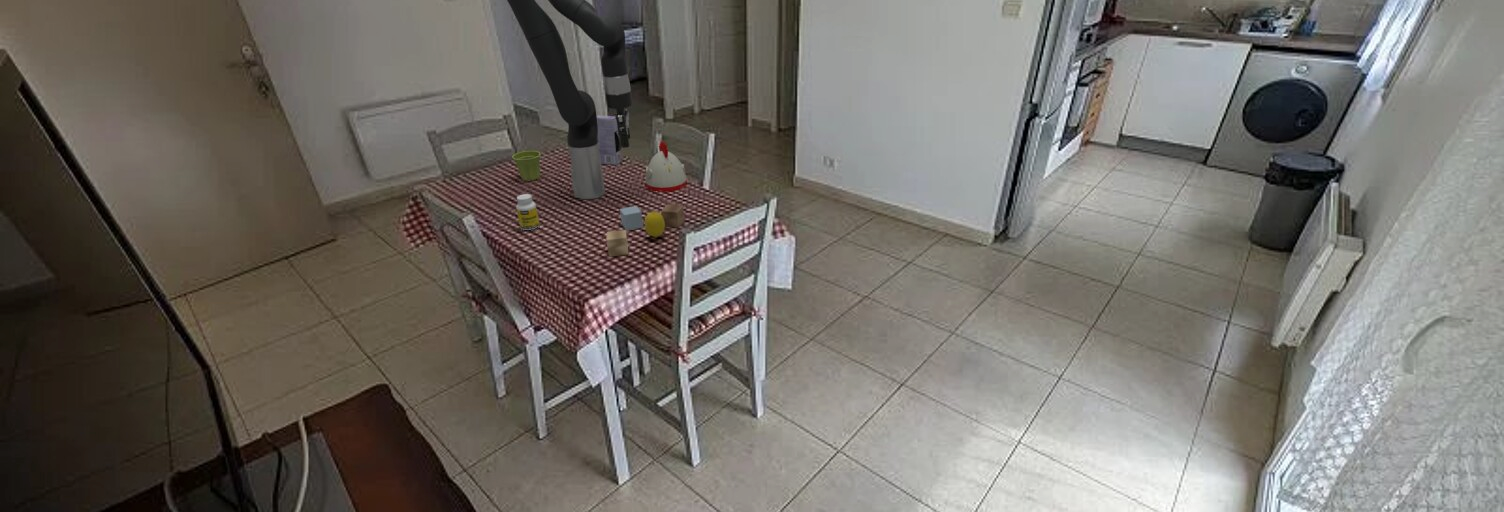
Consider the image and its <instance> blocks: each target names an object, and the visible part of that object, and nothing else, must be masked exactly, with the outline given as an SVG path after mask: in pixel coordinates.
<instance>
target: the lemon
mask: <svg viewBox="0 0 1504 512" xmlns="http://www.w3.org/2000/svg"><path fill="white" fill-rule="evenodd" d="M665 228H666V227H665V222H664V219H663V217H662V215H661V213H659V212H657V211H654V210H652V211H651V212H649V213H647V215H646V216H645V219H644V229H645V231H646V233H647V234H648V235H649V236H651V237H654V238H658V237H659V236H661V235H662V234H663V233H664V232H665Z"/></svg>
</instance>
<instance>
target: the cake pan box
mask: <svg viewBox="0 0 1504 512" xmlns="http://www.w3.org/2000/svg"><path fill="white" fill-rule="evenodd" d="M597 124H598V145H599V152H600V159H601V165H611V166H612V165H613V166H618V165H619V164H621V163H622V162H623V161H622V152H621V149H622V148H623V147H622V144H621V138H620V136H619V134H618V128H617V124H616V119H615V116H612V115H611V116H610V115H597Z"/></svg>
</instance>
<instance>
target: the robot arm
mask: <svg viewBox="0 0 1504 512" xmlns="http://www.w3.org/2000/svg"><path fill="white" fill-rule="evenodd" d="M506 1H507V3H508V5H509V7H510V8H511V11H512V13H513V14H514V17H515V18H516V21H517V22H518V25H519V26H520V29H521V31H522V33H523V35H524V37H525V39H526V42H527V44H528V46H529V49H530V50H531V52H532V54H533V55H534V57H535V59H536V62H537V64H538V66H539V68H540V70H541V72H542V74H543V76H544V77H545V80H546V81H547V84H548V85H549V88H550V90H551V93H552V95H553V99H554V101H555V104H556V108H557V110H558V112H559V114H560V117H561V118H562V120H563V121H564V122H565V123H566V124H567V125H568V132H567V137H566V139H567V145H568V152H569V157H570V158H569V159H570V163H571V169H570V175H571V182H572V189H573V194H574V198H578V199H581V200H594V199H598V198H602V197H603V196H605V195H606V187H605V182H604V181H605V180H604V175H603V167H602V164H601V159H600V152H599V145H598V124H597V116H598V115H597V109H596V104H595V101H594V99H593V97H592V95H590V94H589V93H588V92H587V91H584V90H581V89H580V90H579V89H578V88H577V86H576V84H575V81H574V79H573V77H572V75H571V70H570V65H569V59H568V56H567V50H566V47H565V44H564V41H563V39H562V38H561V35H560V33H559V30H558V29H557V26H556V24H555V23H554V21H553V20H552V18H551V17H550V16H549V15H548V14H547V12H546V11H545V10H544V9H543V8H542V7H541V6H540V5H539V4H538V2H537V1H536V0H506ZM547 1H548V2H549V3H550V5H551V6H552V7H553V8H554V9H555V11H557V12H558V13H559V14H561V15H562V16H563V17H565V18H566V19H567V20H568V21H571V22H572V23H573V24H575V25H577V26H578V27H579V28H580V29H581V30H582V31H583V32H584V33H585V34H586V35H587V36H588V37H589V39H591V40H592V41H593V42H595V43H596V44H598V45H599V46H601V47H603V54H602V56H601V58H600V63H601V69H602V71H601V72H602V75H603V86H604V92H605V99H606V104H607V107H608V108H609V109H612V110H615V113H614V117H615V119H616V124H617V128H618V134H619V136H620V138H621V144H622V147H621V148H623V149H625V148H629V147H630V141H629V140H630V139H631V133H630V124H629V123H630V112H629V110H628V108H629V107H631V106H633V104H634V102H633V97H632V89H631V84H630V79H629V76H628V75H629V74H628V68H627V63H626V57H625V56H626V34H625V33H626V32H625V29H624V26H623V24H622V23H621V22H620V20H618V19H617V18H615V17H607V18H603V17H602V16H600V15H599V14H598V13H596V10H595V7H594V6H593V4H591V3H590V2H588V1H587V0H547Z"/></svg>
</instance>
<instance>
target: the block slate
mask: <svg viewBox="0 0 1504 512" xmlns="http://www.w3.org/2000/svg"><path fill="white" fill-rule="evenodd" d="M619 213H620V218H621V219H620V220H621V225H622V227H623V228H624V230H626V232H627V231H632V230H637V229H643V228H644V224H643V215H642V213H643V212H642V210H641V209H639V207H638V205H634V206H629V207H624V208H620V209H619Z"/></svg>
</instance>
